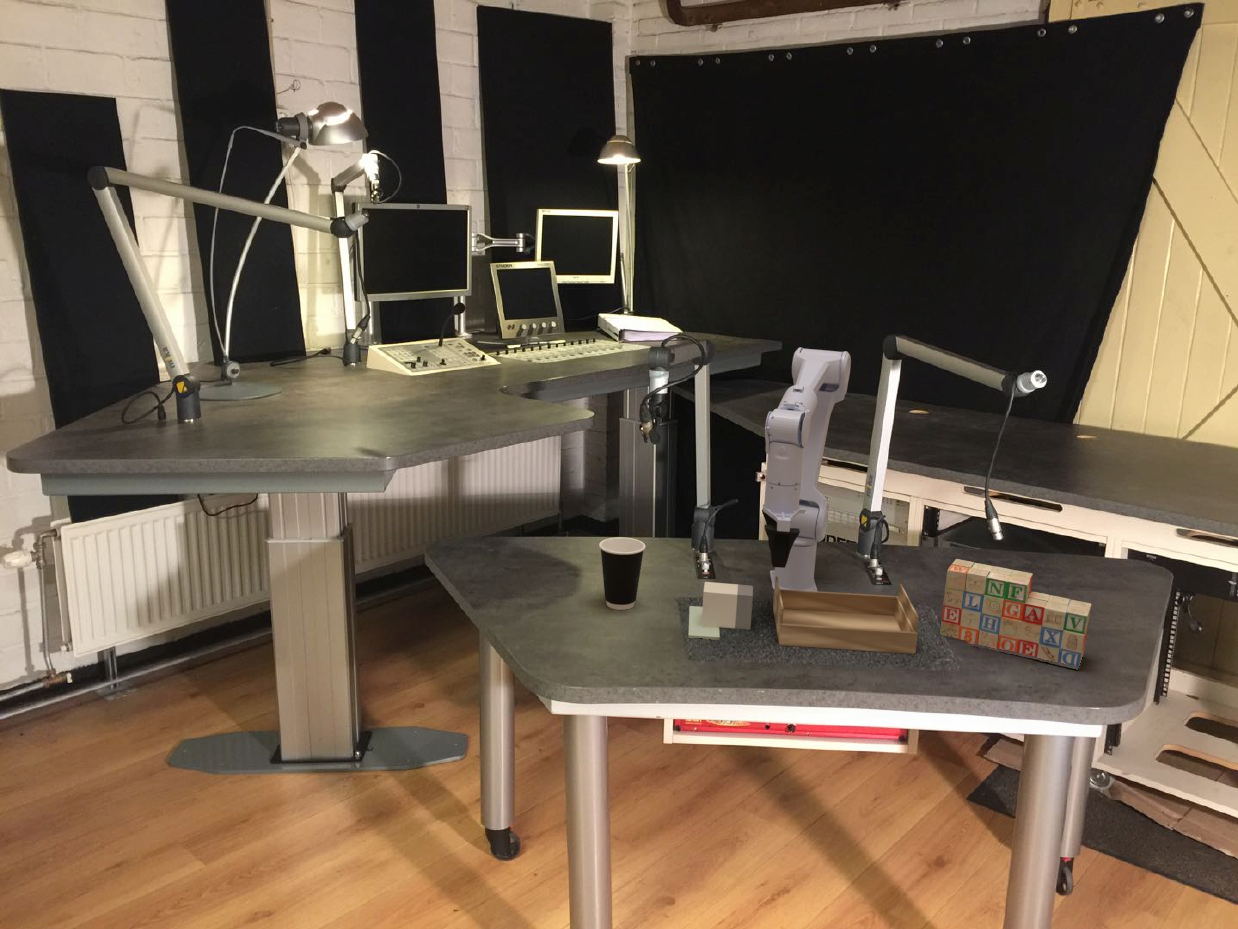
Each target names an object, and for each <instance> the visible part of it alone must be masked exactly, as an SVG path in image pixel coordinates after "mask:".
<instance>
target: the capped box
mask: <svg viewBox="0 0 1238 929" xmlns="http://www.w3.org/2000/svg"><path fill="white" fill-rule="evenodd" d="M753 591H754V586H753V585H748V584H746V585H745V584H738V583H737V584H735V583H723V582H712V581H711V582H710V581H709V582H708V581H705V582H704V586H703V593H702V594H703V596H702V597H703V598H702V607H703V609H702V626H709V627H719V628H723V629H724V628H726V629H727V628H728V629H736V630H737V629H738V630H751V625H752V612H753V599H754V598H753V597H754V592H753Z"/></svg>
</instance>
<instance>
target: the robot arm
mask: <svg viewBox="0 0 1238 929" xmlns="http://www.w3.org/2000/svg"><path fill="white" fill-rule="evenodd" d="M851 358H852V357H851V355H850V353H849V352H848V351H846V350H845V351H834V350H825V349H824V350H823V349H813V348H812V349H810V348H803V347H798V348H797V349H796V350H795V352H794V353H793V357H792V362H791V363H792V364H791V376H792V380H793V385H792V386H790V387H788V388H787V389H786V391H785V392H784V394H783V396H782V399H781V400H780V402H779V405H778V407H777V408H775V409H774V410H773V411H771V410H770V411H768V413H767V416H766V420H765V425H764V440H765V453H766V455H767V462H766V471H765V472H766V475H765V488H764V502H763V504H762V509H761V512H762V513H761V514H762V515H763V518H764V521H765V524H764V531H765V534H766V536H767V540H768V548H769V551H770V558H771V559H770V561H771V565H772V567H773V568H774V569H773V570H769V575H770V576H769V577H770V580H771V586H772V589H773V590H774V589H775V578H776V576H777V577H778V582H779V587H780V589H788V590H804V591H818V588H817V585H816V582H815V566H816V556H817V547H818V545H817V543H820V542H822V541H823V540H824V539H825V537H826V534H827V531H828V530H827V529H828V523H829V510H830V504H829V501H828V499H827V497H826V496H825V495H824V494H822V492H820V491H819V490H818V483H819V478H820V474H821V467H822V462H823V457H824V452H825V451H824V450H825V447H826V439H827V436H828V429H829V423H830V418H831V414H832V411H833V410H834V406H835V404H837V403H839V402H841V401H844V400H845V396H846V394H847V390H848V385H849V380H850V374H851V364H852V360H851Z"/></svg>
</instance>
